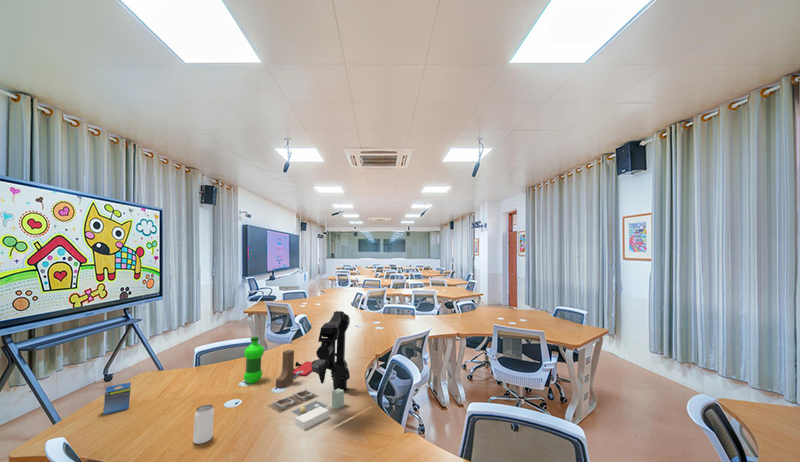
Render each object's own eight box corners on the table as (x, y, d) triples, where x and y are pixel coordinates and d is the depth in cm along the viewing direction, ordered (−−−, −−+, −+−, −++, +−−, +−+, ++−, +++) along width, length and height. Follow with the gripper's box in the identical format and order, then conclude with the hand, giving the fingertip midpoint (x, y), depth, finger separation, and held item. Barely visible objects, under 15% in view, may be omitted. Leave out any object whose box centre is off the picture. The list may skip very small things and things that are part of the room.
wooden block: (281, 388, 168) (282, 354, 170) (275, 387, 170) (276, 353, 172) (293, 382, 177) (294, 350, 178) (287, 381, 178) (288, 349, 180)
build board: (306, 392, 164) (306, 387, 164) (319, 398, 157) (319, 392, 158) (266, 407, 147) (267, 402, 147) (279, 415, 140) (279, 409, 140)
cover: (320, 415, 140) (320, 406, 141) (328, 419, 137) (328, 410, 137) (295, 427, 130) (295, 417, 130) (303, 432, 126) (303, 422, 127)
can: (198, 435, 124) (200, 404, 125) (215, 434, 125) (217, 403, 126) (189, 444, 118) (191, 412, 119) (207, 444, 118) (208, 411, 119)
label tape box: (128, 405, 148) (130, 379, 149) (129, 408, 145) (131, 381, 146) (103, 412, 142) (105, 384, 143) (103, 415, 139) (105, 387, 140)
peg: (338, 405, 150) (338, 388, 151) (343, 407, 148) (344, 390, 148) (331, 408, 147) (332, 391, 148) (337, 411, 144) (337, 393, 145)
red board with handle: (275, 379, 181) (299, 382, 178) (276, 374, 181) (299, 377, 178) (301, 363, 210) (321, 365, 208) (301, 358, 211) (322, 360, 208)
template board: (316, 402, 152) (316, 396, 153) (328, 408, 147) (328, 401, 147) (291, 413, 141) (291, 407, 142) (302, 420, 136) (303, 413, 136)
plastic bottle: (264, 382, 176) (266, 338, 178) (243, 386, 170) (246, 340, 172) (261, 377, 184) (262, 334, 186) (241, 380, 178) (243, 336, 180)
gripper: (302, 352, 143) (301, 386, 142) (327, 361, 132) (327, 399, 131) (322, 346, 152) (321, 378, 151) (347, 354, 140) (346, 389, 139)
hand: (328, 386), depth 143 cm, fingers open, 9 cm apart
